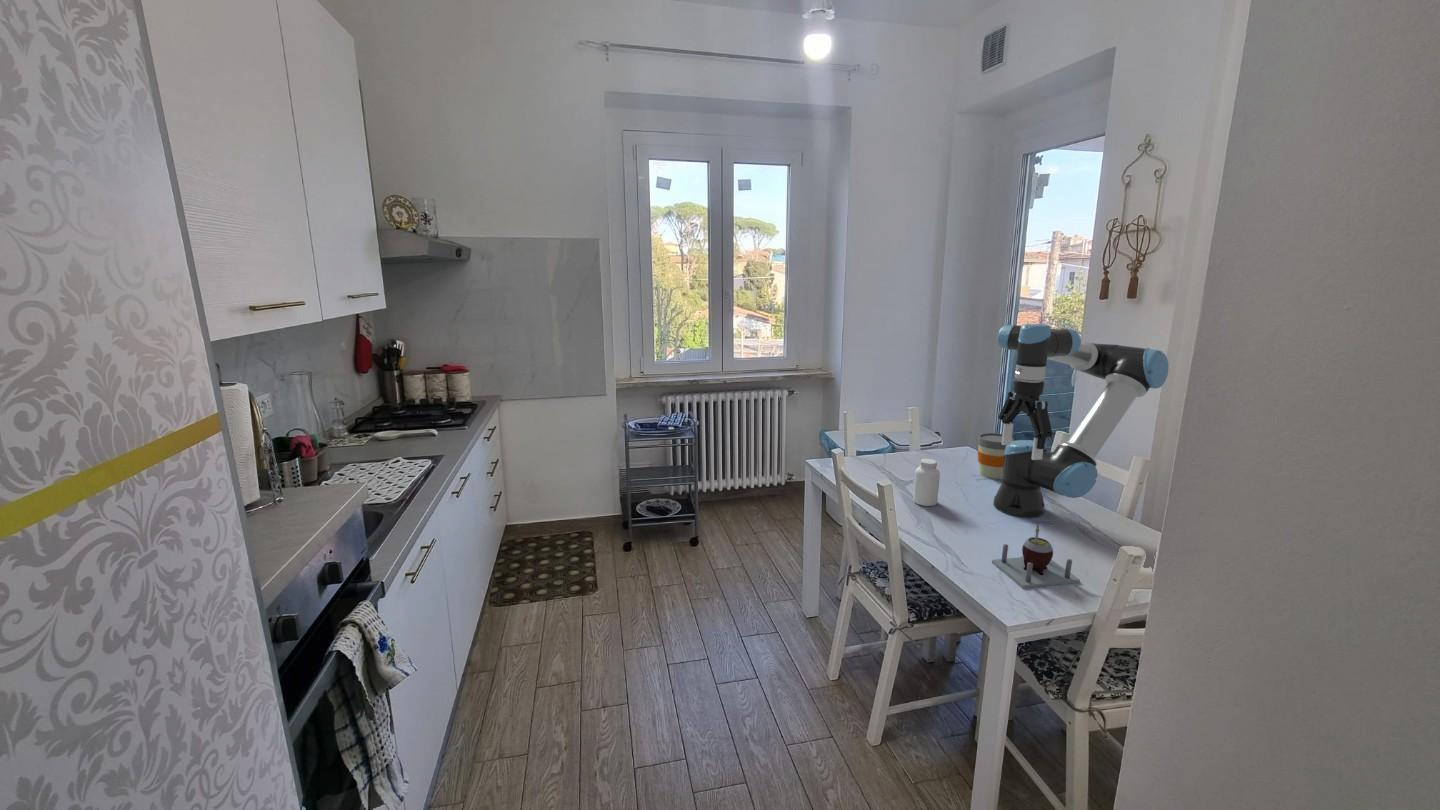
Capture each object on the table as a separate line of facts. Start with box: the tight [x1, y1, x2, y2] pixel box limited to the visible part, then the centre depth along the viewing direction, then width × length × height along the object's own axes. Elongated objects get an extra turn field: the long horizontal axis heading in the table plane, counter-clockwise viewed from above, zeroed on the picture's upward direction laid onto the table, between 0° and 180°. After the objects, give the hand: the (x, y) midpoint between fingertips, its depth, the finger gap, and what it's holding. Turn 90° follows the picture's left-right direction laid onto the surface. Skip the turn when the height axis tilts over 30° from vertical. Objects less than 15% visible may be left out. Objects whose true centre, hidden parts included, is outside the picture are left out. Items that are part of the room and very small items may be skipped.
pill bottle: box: [912, 458, 941, 507], centre depth 196 cm, size 8×8×15 cm
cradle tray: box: [991, 543, 1081, 589], centre depth 152 cm, size 16×13×6 cm
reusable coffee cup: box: [977, 432, 1015, 480], centre depth 220 cm, size 12×12×15 cm
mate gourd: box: [1021, 524, 1054, 575], centre depth 150 cm, size 8×8×15 cm
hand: (1020, 451), depth 166 cm, fingers open, 13 cm apart
